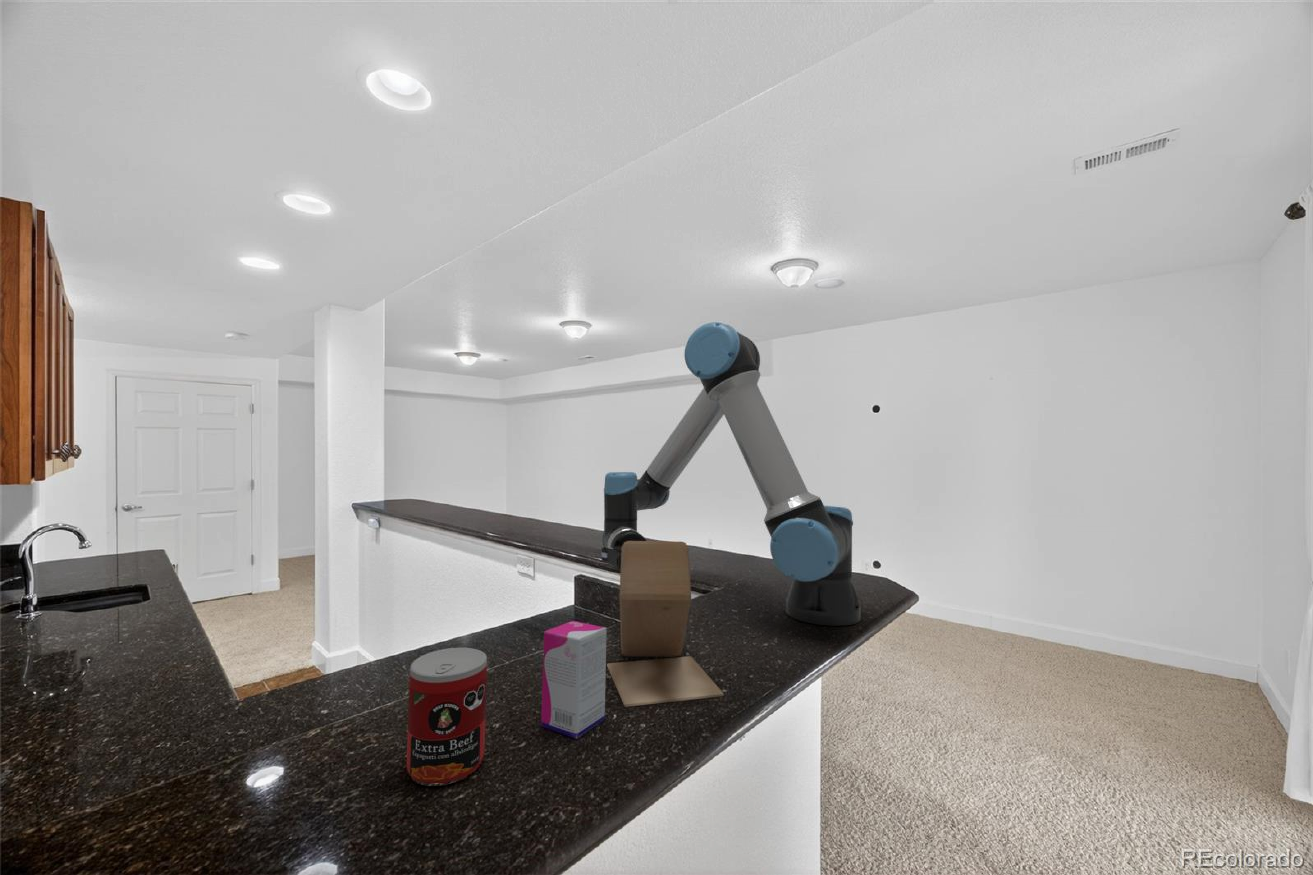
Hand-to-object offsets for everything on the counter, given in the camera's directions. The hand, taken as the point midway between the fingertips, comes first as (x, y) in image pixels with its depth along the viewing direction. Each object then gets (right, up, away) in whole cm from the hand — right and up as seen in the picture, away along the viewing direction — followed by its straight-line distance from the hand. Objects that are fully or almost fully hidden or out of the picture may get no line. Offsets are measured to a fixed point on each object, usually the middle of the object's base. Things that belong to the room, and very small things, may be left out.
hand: (652, 570), depth 88 cm
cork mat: (+1, -14, -10) cm, 17 cm away
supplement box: (-10, -13, -23) cm, 28 cm away
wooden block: (0, -11, +2) cm, 11 cm away
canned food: (-22, -13, -32) cm, 41 cm away
